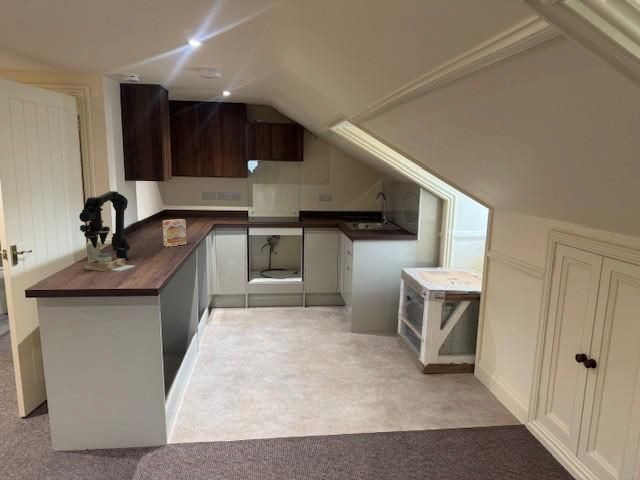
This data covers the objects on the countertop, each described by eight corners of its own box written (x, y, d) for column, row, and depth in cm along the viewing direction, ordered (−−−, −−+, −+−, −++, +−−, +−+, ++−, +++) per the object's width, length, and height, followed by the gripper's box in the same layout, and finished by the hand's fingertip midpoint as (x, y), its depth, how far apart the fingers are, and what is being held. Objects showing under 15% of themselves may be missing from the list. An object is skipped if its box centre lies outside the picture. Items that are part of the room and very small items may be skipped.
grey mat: (126, 266, 255) (126, 265, 255) (135, 266, 254) (135, 265, 253) (111, 270, 244) (111, 269, 244) (121, 271, 242) (121, 270, 242)
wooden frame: (105, 263, 261) (104, 257, 261) (125, 265, 257) (125, 258, 257) (85, 269, 246) (84, 262, 246) (106, 271, 243) (105, 264, 242)
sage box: (105, 266, 255) (104, 252, 254) (112, 266, 254) (111, 253, 252) (99, 268, 250) (97, 254, 249) (106, 268, 249) (105, 255, 248)
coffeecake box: (167, 248, 311) (165, 221, 308) (163, 246, 316) (162, 220, 313) (187, 245, 321) (185, 219, 317) (183, 244, 326) (181, 218, 323)
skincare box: (101, 261, 268) (100, 241, 266) (98, 262, 264) (96, 243, 262) (91, 261, 268) (89, 241, 266) (87, 262, 264) (85, 243, 262)
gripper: (90, 217, 254) (92, 242, 257) (73, 222, 236) (76, 249, 239) (109, 217, 254) (111, 242, 257) (93, 222, 236) (96, 249, 239)
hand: (98, 246), depth 248 cm, fingers open, 9 cm apart
